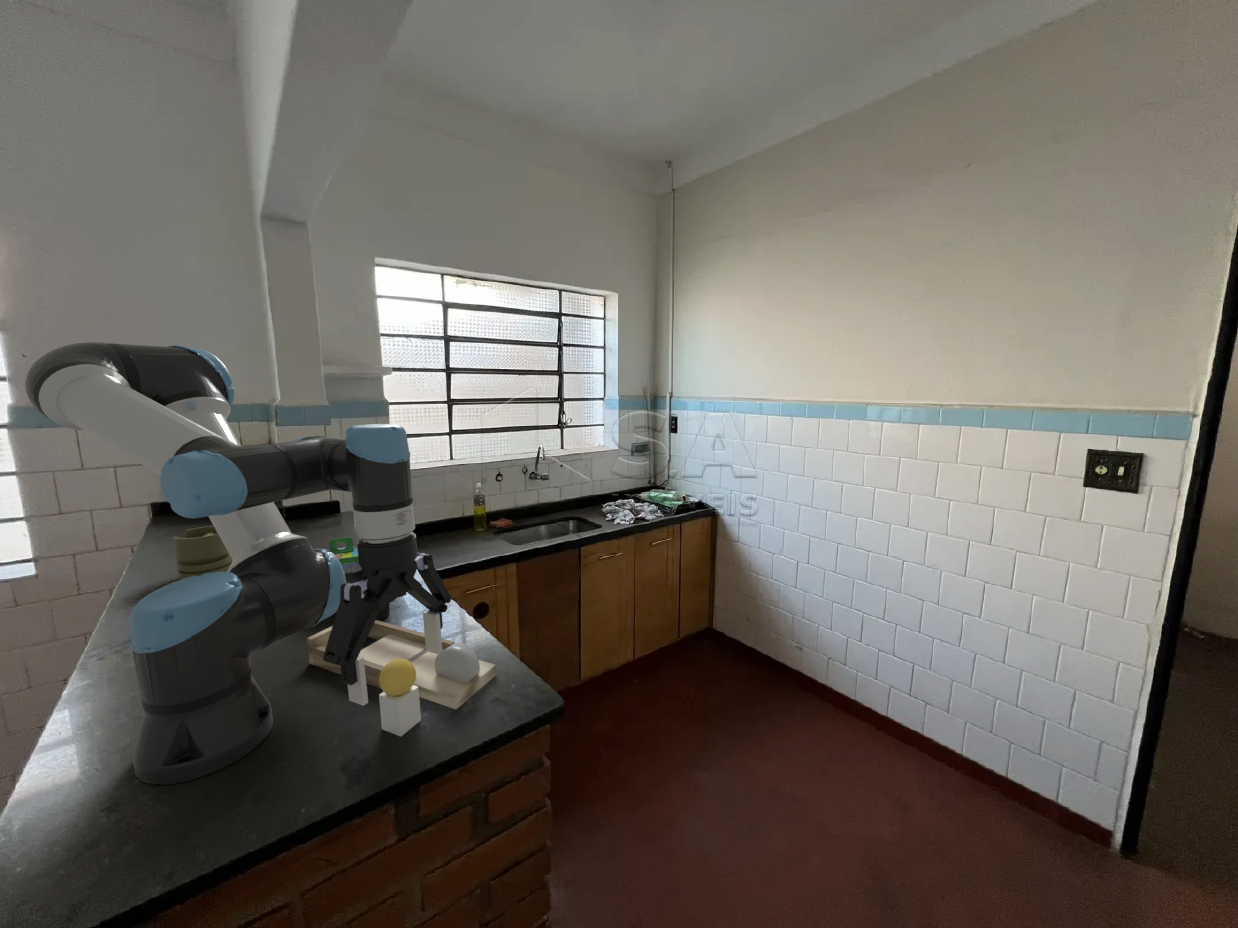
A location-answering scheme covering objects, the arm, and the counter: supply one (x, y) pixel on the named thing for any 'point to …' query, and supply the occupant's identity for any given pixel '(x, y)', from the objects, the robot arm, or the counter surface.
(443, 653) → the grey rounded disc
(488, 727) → the counter surface
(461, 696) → the lane
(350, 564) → the chalk box
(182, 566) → the piston
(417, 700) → the tee
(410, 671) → the ball
